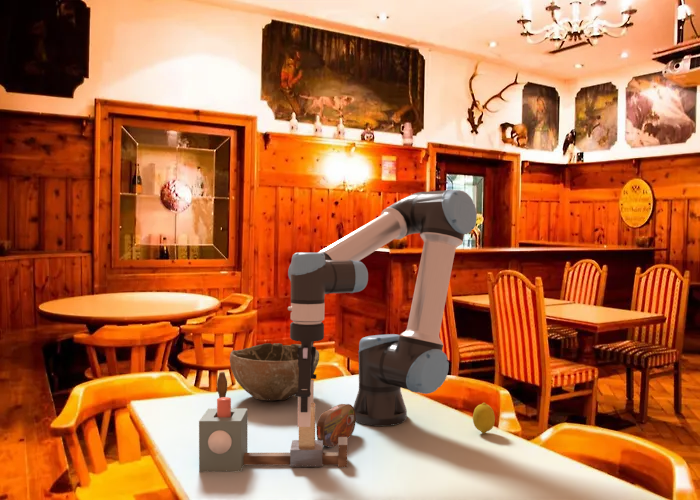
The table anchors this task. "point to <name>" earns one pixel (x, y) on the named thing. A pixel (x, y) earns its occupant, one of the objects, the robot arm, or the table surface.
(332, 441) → the tin
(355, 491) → the table surface
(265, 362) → the bowl
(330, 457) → the rail
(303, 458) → the block
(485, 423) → the lemon
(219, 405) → the red rounded peg
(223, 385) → the hand bell
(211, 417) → the grey hole block
